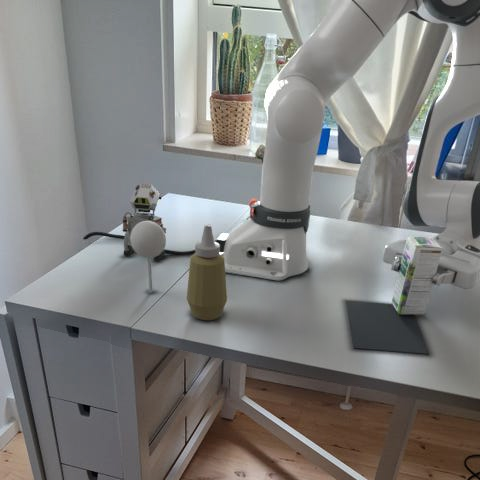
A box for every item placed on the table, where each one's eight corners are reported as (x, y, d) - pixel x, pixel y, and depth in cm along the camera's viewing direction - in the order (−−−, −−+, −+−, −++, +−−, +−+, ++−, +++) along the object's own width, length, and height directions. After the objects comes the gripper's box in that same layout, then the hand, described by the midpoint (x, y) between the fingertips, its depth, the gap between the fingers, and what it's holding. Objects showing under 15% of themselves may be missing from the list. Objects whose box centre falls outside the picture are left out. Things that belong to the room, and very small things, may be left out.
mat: (353, 348, 107) (354, 347, 107) (346, 301, 122) (346, 300, 122) (428, 354, 106) (428, 353, 106) (410, 306, 122) (411, 305, 122)
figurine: (173, 247, 141) (171, 184, 132) (156, 264, 132) (153, 198, 123) (138, 242, 143) (134, 179, 133) (120, 259, 134) (114, 193, 125)
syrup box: (390, 302, 121) (405, 235, 112) (416, 302, 122) (434, 236, 113) (398, 315, 117) (414, 246, 108) (425, 315, 118) (444, 246, 108)
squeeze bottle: (221, 326, 111) (224, 235, 100) (181, 320, 112) (180, 230, 101) (230, 308, 117) (234, 220, 106) (192, 302, 118) (192, 215, 107)
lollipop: (172, 288, 123) (171, 219, 114) (158, 302, 118) (155, 230, 108) (143, 282, 125) (139, 213, 115) (128, 295, 119) (122, 224, 110)
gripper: (402, 228, 125) (372, 244, 117) (493, 254, 116) (467, 274, 107) (396, 255, 129) (366, 273, 121) (483, 283, 120) (458, 304, 111)
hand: (415, 274), depth 114 cm, fingers closed on syrup box, 7 cm apart
